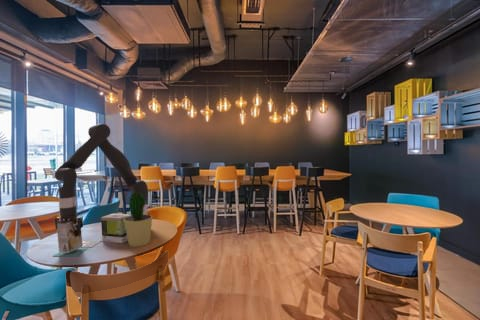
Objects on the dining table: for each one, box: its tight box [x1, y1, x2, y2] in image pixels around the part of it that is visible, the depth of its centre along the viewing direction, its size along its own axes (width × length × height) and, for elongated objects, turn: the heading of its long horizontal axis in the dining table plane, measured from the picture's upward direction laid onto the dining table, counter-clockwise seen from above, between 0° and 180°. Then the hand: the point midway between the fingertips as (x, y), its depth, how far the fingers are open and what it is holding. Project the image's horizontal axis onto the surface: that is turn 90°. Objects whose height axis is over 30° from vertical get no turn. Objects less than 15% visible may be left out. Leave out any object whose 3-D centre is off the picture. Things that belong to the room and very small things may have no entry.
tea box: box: [100, 212, 132, 244], centre depth 159 cm, size 15×10×15 cm, turn 71°
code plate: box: [81, 240, 102, 248], centre depth 153 cm, size 16×10×1 cm, turn 87°
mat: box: [52, 247, 89, 258], centre depth 141 cm, size 12×10×1 cm
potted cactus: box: [124, 191, 153, 248], centre depth 152 cm, size 15×15×30 cm
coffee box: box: [56, 220, 83, 253], centre depth 141 cm, size 9×6×16 cm
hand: (70, 236), depth 141 cm, fingers closed on coffee box, 7 cm apart
